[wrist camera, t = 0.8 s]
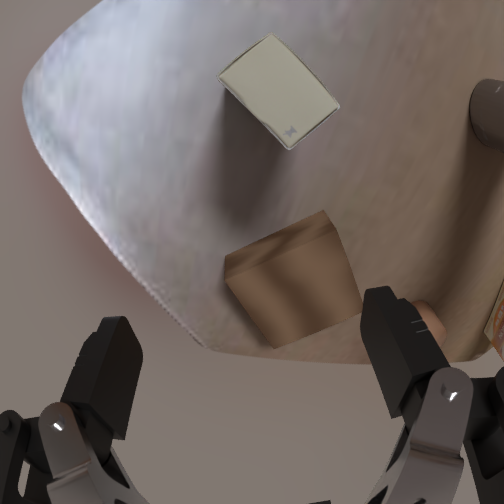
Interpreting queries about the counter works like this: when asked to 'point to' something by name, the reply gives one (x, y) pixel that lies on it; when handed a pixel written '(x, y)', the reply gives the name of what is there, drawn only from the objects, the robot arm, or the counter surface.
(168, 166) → the counter surface
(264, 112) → the skincare box
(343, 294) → the walnut block
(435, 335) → the pink rounded knob
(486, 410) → the robot arm
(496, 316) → the coffeecake box
